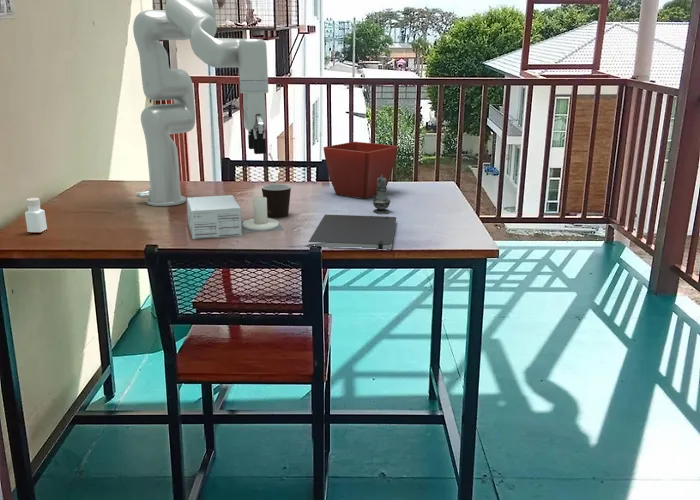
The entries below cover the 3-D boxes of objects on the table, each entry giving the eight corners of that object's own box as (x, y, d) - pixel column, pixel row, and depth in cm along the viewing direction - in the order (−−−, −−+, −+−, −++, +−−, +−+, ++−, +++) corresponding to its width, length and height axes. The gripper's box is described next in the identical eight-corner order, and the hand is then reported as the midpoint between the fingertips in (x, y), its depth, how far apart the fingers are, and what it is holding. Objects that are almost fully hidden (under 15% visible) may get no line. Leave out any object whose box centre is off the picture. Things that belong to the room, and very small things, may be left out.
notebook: (324, 221, 194) (308, 249, 168) (324, 214, 194) (308, 241, 167) (396, 223, 192) (391, 252, 166) (396, 216, 191) (391, 244, 165)
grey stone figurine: (394, 211, 204) (395, 174, 200) (382, 215, 200) (383, 176, 196) (380, 208, 208) (380, 171, 204) (368, 211, 204) (368, 174, 200)
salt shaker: (34, 230, 181) (29, 197, 178) (48, 230, 181) (43, 197, 178) (27, 234, 177) (21, 200, 174) (41, 234, 177) (36, 200, 174)
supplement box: (243, 241, 173) (241, 207, 170) (192, 245, 169) (190, 210, 166) (234, 225, 188) (233, 193, 185) (188, 228, 184) (186, 196, 182)
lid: (245, 232, 175) (244, 203, 173) (240, 222, 185) (239, 195, 182) (281, 229, 178) (280, 201, 176) (275, 220, 187) (274, 193, 185)
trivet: (243, 237, 175) (243, 232, 175) (239, 227, 185) (238, 222, 185) (283, 235, 178) (283, 229, 178) (277, 224, 188) (276, 219, 188)
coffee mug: (289, 223, 189) (289, 190, 186) (260, 223, 190) (259, 190, 187) (294, 213, 201) (293, 182, 198) (266, 213, 201) (265, 181, 198)
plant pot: (353, 186, 241) (354, 140, 236) (397, 192, 230) (398, 145, 225) (322, 195, 226) (321, 147, 221) (367, 202, 215) (367, 152, 210)
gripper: (235, 86, 180) (239, 147, 185) (244, 89, 164) (248, 156, 169) (262, 85, 182) (265, 146, 187) (273, 88, 166) (276, 155, 171)
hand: (257, 151), depth 178 cm, fingers open, 9 cm apart
